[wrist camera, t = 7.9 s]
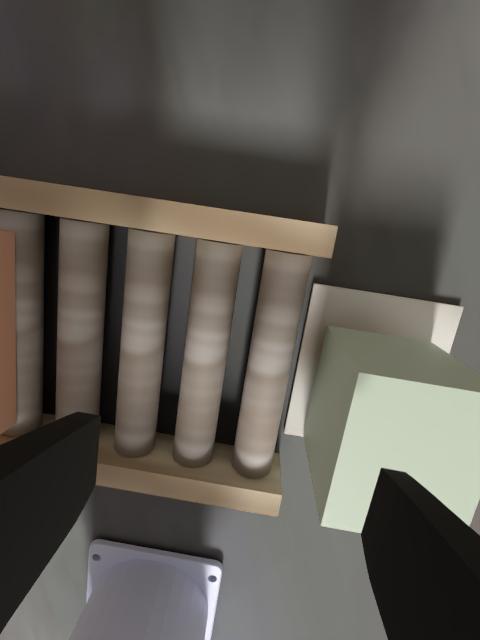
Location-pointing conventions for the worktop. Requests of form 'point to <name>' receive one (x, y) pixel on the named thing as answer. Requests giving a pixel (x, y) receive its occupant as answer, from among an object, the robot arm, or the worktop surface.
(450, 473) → the block
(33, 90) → the worktop surface
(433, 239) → the worktop surface
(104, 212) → the roller bed
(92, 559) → the robot arm
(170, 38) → the worktop surface
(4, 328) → the slab
